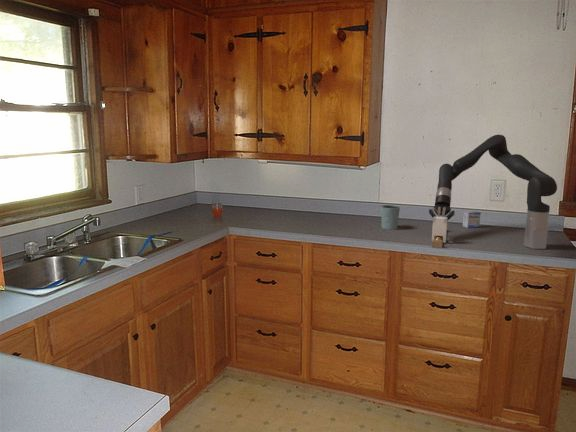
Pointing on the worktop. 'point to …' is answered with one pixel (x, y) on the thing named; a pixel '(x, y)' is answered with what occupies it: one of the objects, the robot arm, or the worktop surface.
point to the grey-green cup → (390, 216)
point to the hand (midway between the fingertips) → (439, 226)
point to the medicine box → (471, 219)
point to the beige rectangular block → (439, 227)
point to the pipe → (439, 242)
